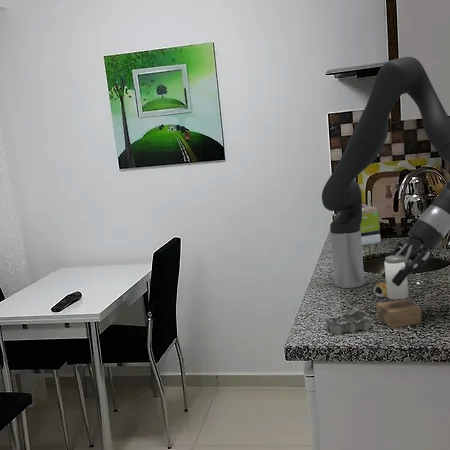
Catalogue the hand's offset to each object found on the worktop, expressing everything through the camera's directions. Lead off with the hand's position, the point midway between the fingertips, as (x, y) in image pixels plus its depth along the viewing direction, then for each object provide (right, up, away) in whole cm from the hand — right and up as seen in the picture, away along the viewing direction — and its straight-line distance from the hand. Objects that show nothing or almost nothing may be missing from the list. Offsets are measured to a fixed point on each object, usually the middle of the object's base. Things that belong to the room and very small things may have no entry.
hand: (389, 281), depth 146 cm
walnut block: (+3, -10, +2) cm, 11 cm away
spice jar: (+2, -4, +1) cm, 5 cm away
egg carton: (-10, -12, +1) cm, 16 cm away
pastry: (+7, -7, +25) cm, 27 cm away
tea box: (+17, +7, +103) cm, 104 cm away
